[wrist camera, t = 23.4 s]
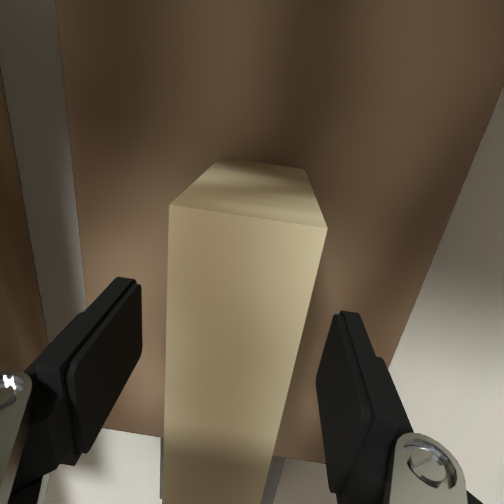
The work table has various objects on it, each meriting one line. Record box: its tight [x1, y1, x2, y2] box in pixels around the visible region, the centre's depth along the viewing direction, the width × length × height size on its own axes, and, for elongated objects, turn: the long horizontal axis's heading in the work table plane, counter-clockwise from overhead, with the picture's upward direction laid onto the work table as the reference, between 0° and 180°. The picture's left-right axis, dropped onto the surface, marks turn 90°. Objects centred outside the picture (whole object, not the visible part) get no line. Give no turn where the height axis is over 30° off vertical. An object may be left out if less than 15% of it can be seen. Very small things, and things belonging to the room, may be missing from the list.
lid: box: [55, 0, 504, 504], centre depth 13 cm, size 14×27×8 cm, turn 173°
